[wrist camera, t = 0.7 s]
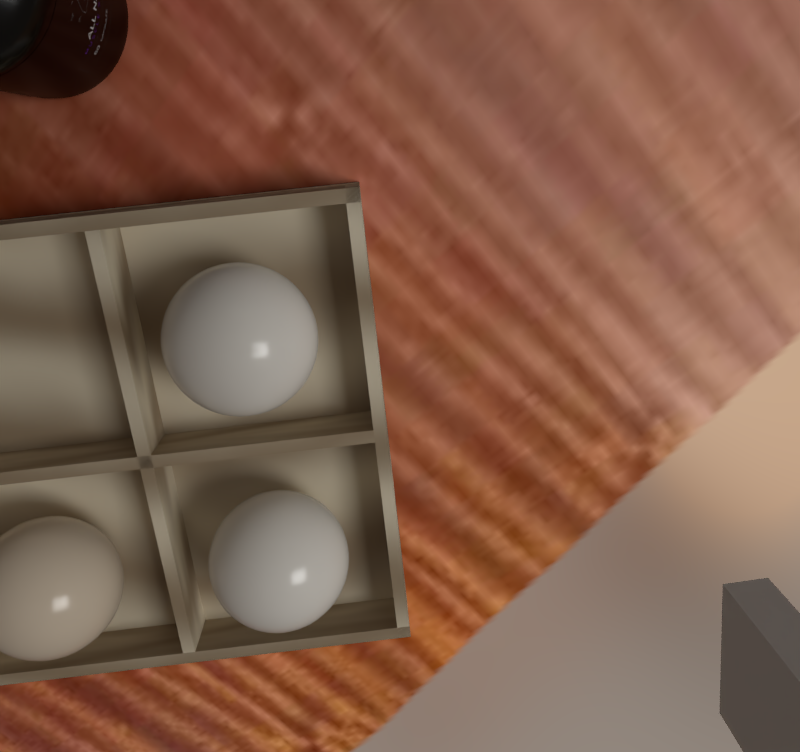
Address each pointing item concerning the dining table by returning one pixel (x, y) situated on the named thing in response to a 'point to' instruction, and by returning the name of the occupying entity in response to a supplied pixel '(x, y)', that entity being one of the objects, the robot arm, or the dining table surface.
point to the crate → (190, 417)
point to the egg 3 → (278, 561)
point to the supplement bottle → (59, 45)
